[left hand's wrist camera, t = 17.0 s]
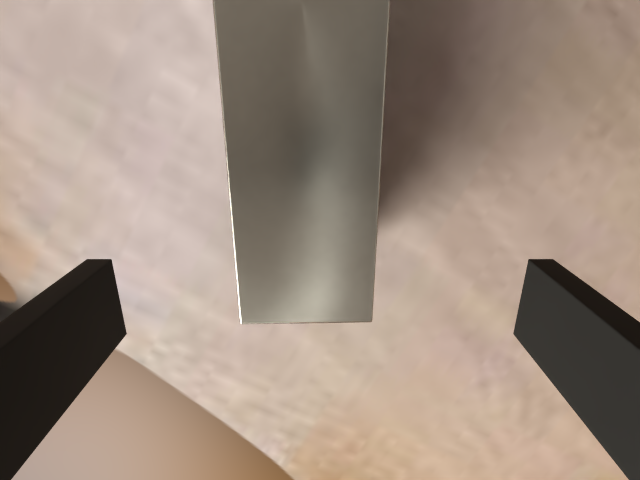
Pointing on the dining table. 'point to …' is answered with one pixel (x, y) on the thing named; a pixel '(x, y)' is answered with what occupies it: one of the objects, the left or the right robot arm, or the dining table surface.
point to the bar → (303, 153)
